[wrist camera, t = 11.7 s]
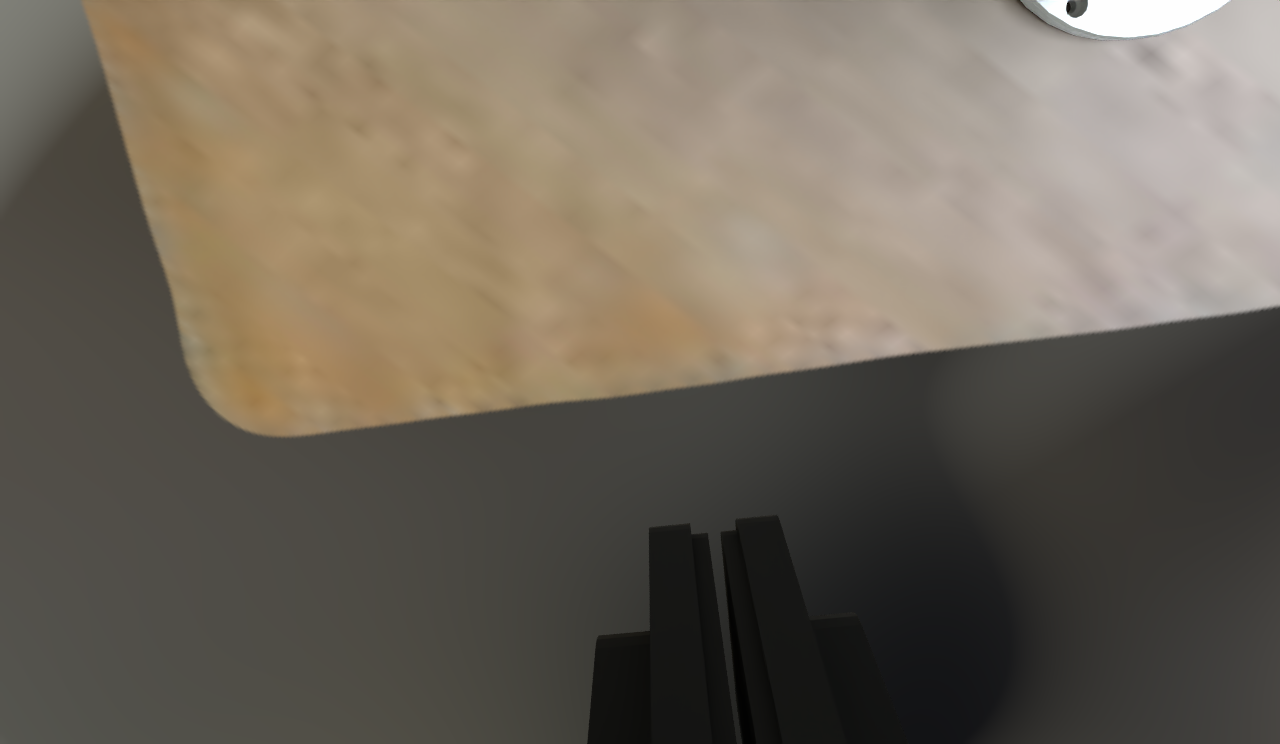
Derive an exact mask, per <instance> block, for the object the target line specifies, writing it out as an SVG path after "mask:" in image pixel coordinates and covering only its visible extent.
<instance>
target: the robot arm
mask: <svg viewBox="0 0 1280 744" xmlns="http://www.w3.org/2000/svg"><path fill="white" fill-rule="evenodd" d="M1067 1H1068V2H1069V3H1070V4H1071V9H1070V11H1069V12H1068V14H1067V13H1066V4H1067ZM1230 1H1231V0H1021V2H1022V3H1023V4H1024V5H1025V6H1026V8H1028V9H1029V10H1030V11H1032V12H1033V13H1034V14H1036V15H1037V16H1038V17H1040V18H1041V19H1042V20H1044V21H1045V22H1046V23H1048V24H1049V25H1052V26H1054V27H1056V28H1058V29H1061V30H1063V31H1065V32H1067V33H1070V34H1072V35H1075V36H1080V37H1086V38H1091V39H1096V40H1132V39H1139V38H1147V37H1155V36H1159V35H1162V34H1165V33H1168V32H1171V31H1175V30H1178V29H1181V28H1184V27H1187V26H1189V25H1191V24H1193V23H1195V22H1197V21H1199V20H1200V19H1202V18H1204V17H1206V16H1208V15H1210V14H1212V13H1214V12H1216V11H1217V10H1219V9H1220V8H1221V7H1223V6H1224V5H1226V4H1227V3H1228V2H1230ZM721 544H722V554H723V565H724V576H725V586H726V597H727V607H728V619H729V630H730V641H731V650H732V662H733V672H734V684H735V694H736V703H737V712H738V719H739V726H740V733H741V739H742V744H908V742H907V739H906V736H905V734H904V732H903V729H902V726H901V724H900V721H899V719H898V717H897V714H896V711H895V709H894V706H893V704H892V701H891V698H890V696H889V693H888V691H887V688H886V686H885V683H884V681H883V678H882V676H881V673H880V671H879V668H878V666H877V663H876V660H875V658H874V656H873V653H872V650H871V648H870V645H869V643H868V640H867V638H866V635H865V633H864V630H863V627H862V625H861V623H860V621H859V619H858V617H857V615H856V614H854V613H842V614H831V615H820V616H810V617H809V616H808V613H807V609H806V606H805V603H804V600H803V597H802V593H801V590H800V586H799V583H798V580H797V576H796V573H795V570H794V567H793V563H792V560H791V557H790V553H789V550H788V547H787V543H786V540H785V537H784V534H783V530H782V527H781V524H780V520H779V518H778V516H777V515H772V516H760V517H751V518H741V519H736V530H733V531H723V532H721ZM649 579H650V631H645V632H634V633H624V634H613V635H601V636H598V638H597V642H596V649H595V661H594V672H593V685H592V696H591V709H590V720H589V731H588V743H587V744H737V743H736V736H735V728H734V721H733V714H732V706H731V699H730V692H729V685H728V677H727V670H726V663H725V656H724V648H723V641H722V634H721V627H720V620H719V612H718V605H717V598H716V590H715V583H714V576H713V569H712V561H711V554H710V547H709V540H708V533H702V534H691V528H690V523H689V524H679V525H668V526H659V527H650V528H649Z"/></svg>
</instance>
